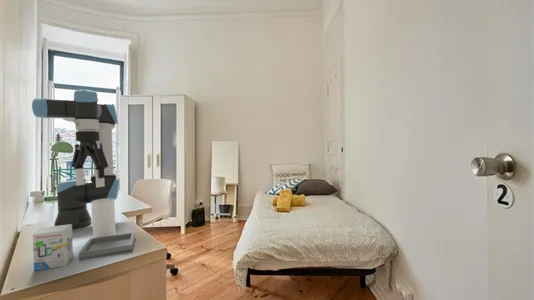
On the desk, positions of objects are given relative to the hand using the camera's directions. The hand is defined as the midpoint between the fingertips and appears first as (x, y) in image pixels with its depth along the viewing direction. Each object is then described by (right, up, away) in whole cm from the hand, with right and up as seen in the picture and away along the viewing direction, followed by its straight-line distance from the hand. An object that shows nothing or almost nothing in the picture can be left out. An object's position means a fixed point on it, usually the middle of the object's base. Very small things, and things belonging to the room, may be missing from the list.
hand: (90, 185), depth 102 cm
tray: (+9, -23, -2) cm, 25 cm away
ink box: (-2, -24, -14) cm, 28 cm away
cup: (-1, -24, +10) cm, 26 cm away
